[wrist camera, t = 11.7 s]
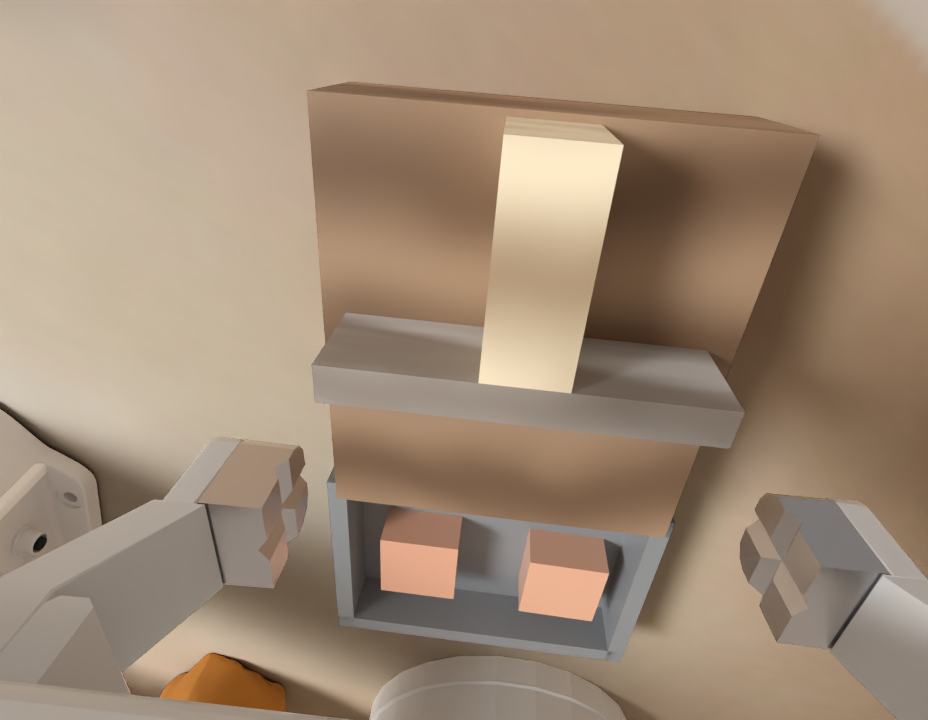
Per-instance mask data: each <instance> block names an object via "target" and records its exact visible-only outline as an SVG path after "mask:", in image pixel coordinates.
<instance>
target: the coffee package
mask: <svg viewBox="0 0 928 720" xmlns="http://www.w3.org/2000/svg"><path fill="white" fill-rule="evenodd" d="M159 698H166V699H175V700H184V701H193V702H202V703H211V704H220V705H228V706H237V707H246V708H255V709H264V710H273V711H281V712H284V711H285V708H286V705H285V691H284V689H283V687H282V686H281V685H280V684H278V683H271V682H269V681H267V680H266V679H265V678H263V677H262V676H261V674H259V673H257V672H254V671H251V670H248V669H246V668H244V667H243V666H242V664H239V663H238V662H236V661H235V660H232V659H231V660H229V659H227V658H225V657H224V656H220V655H218V654H214V653H210V654H208V655H206V656H204V657H203V658H202V659H201V660H200V661H199V662H198V663H197V664H196V665H195V666H194V667H193V668H192V669H191V670H190V671H189V673H182V674H180V675H178V676H177V677H175V678H174V679H173V680H172V681H171V682H170V683H169V684H168V685H167V686H166V687H165V689H164V690H163V692H162V694H161V695H160V697H159Z"/></svg>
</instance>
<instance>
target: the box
mask: <svg viewBox="0 0 928 720" xmlns="http://www.w3.org/2000/svg"><path fill="white" fill-rule="evenodd" d="M327 489H328V501H329V513H330V525H331V536H332V548H333V560H334V572H335V584H336V596H337V608H338V620H339V626H347V627H354V628H362V629H370V630H377V631H385V632H392V633H400V634H408V635H415V636H423V637H431V638H438V639H446V640H454V641H461V642H469V643H477V644H484V645H492V646H499V647H507V648H515V649H522V650H530V651H538V652H545V653H553V654H561V655H568V656H576V657H584V658H591V659H599V660H606V661H614V662H621V660H622V657H623V654H624V652H625V649H626V647H627V644H628V642H629V639H630V637H631V634H632V632H633V629H634V626H635V624H636V621H637V619H638V616H639V614H640V611H641V609H642V606H643V604H644V601H645V598H646V596H647V593H648V591H649V588H650V586H651V583H652V581H653V578H654V576H655V573H656V571H657V568H658V565H659V563H660V560H661V558H662V555H663V553H664V550H665V548H666V545H667V543H668V540H669V537H670V535H671V532H672V530H673V527H674V525H675V522H674V519H673V517H672V520H671V522H670V525H669V528H668V530H667V533H666V535H665V538H661V537H653V536H644V535H636V534H628V533H619V532H611V531H603V530H595V529H586V528H578V527H570V526H561V525H553V524H545V523H536V522H528V521H520V520H512V519H503V518H495V517H487V516H478V515H470V514H462V513H453V512H445V511H437V510H429V509H420V508H412V507H404V506H395V505H387V504H379V503H370V502H362V501H354V500H346V499H337V496H336V482H335V468H334V467H333V470H332V472H331V474H330V476H329V479H328V481H327ZM389 508H397V509H405V510H414V511H422V512H430V513H438V514H447V515H455V516H462V525H461V535H460V545H459V556H458V566H457V574H456V582H455V590H454V599H448V598H440V597H433V596H425V595H417V594H409V593H401V592H393V591H386V590H381V561H380V539H381V535H382V532H383V528H384V525H385V521H386V518H387V514H388V511H389ZM530 528H531V529H538V530H545V531H552V532H559V533H566V534H573V535H581V536H588V537H595V538H602V539H604V545H605V551H606V557H607V563H608V569H609V576H608V579H607V581H606V584H605V587H604V590H603V592H602V595H601V598H600V600H599V603H598V606H597V609H596V611H595V614H594V617H593V620H592V621H585V620H578V619H572V618H565V617H558V616H551V615H544V614H537V613H530V612H523V611H518V597H519V572H520V568H521V563H522V559H523V555H524V550H525V546H526V542H527V537H528V533H529V529H530Z"/></svg>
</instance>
